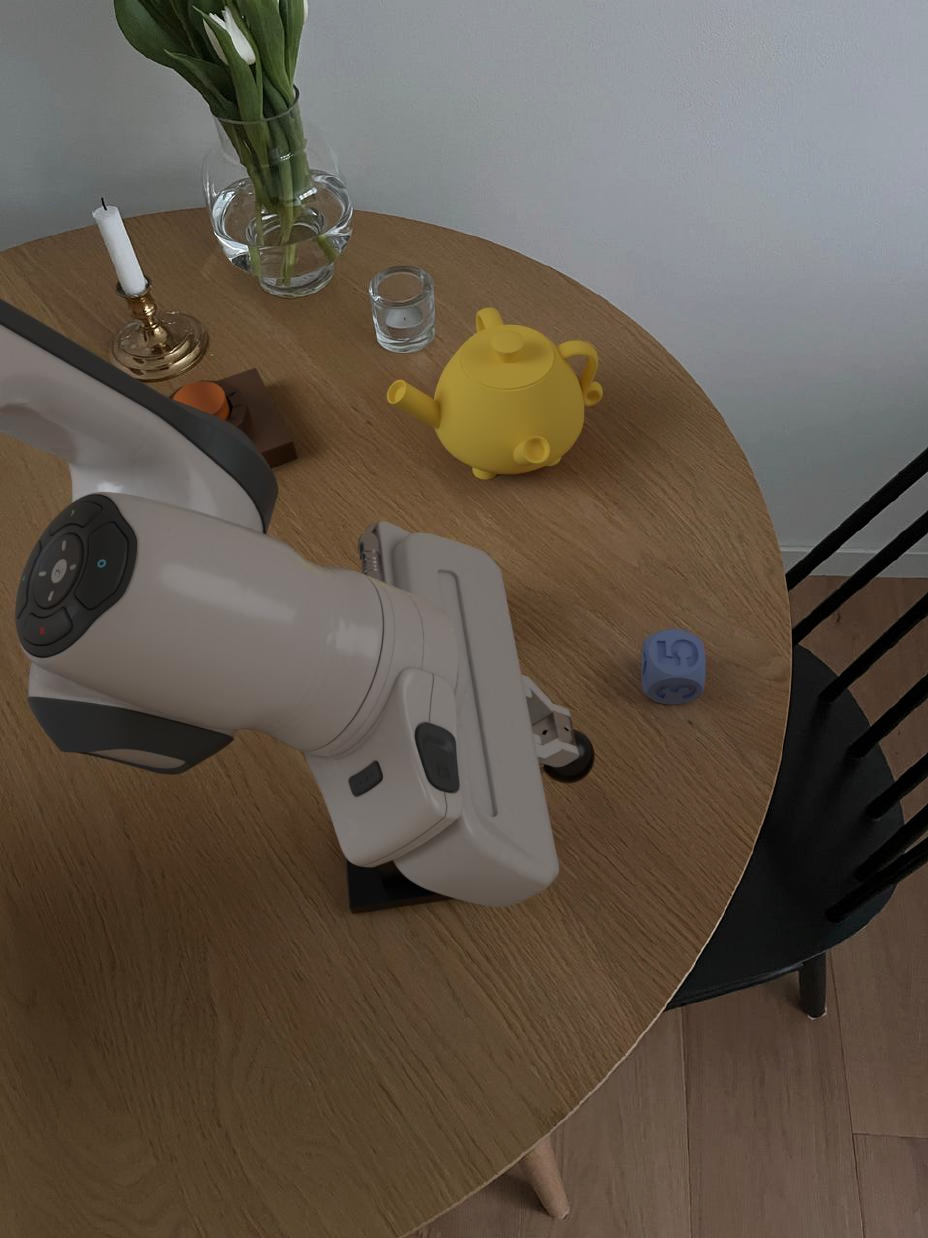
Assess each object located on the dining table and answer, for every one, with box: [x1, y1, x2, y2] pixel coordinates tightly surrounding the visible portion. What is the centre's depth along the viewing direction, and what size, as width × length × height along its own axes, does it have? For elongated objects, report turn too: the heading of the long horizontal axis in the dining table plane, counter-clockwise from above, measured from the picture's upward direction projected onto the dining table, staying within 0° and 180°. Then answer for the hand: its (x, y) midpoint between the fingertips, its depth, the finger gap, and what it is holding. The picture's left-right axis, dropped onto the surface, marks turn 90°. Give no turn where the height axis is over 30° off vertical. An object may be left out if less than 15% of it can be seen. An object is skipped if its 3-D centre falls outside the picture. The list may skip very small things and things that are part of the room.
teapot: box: [386, 306, 604, 481], centre depth 86 cm, size 14×14×11 cm
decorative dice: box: [641, 628, 707, 705], centre depth 76 cm, size 4×4×4 cm
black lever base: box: [344, 856, 456, 915], centre depth 66 cm, size 9×7×12 cm
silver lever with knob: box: [539, 728, 596, 785], centre depth 62 cm, size 13×3×3 cm, turn 98°
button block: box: [168, 367, 298, 469], centre depth 91 cm, size 12×10×4 cm
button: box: [173, 380, 229, 421], centre depth 89 cm, size 4×4×2 cm
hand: (566, 739), depth 60 cm, fingers closed, pressing on silver lever with knob
